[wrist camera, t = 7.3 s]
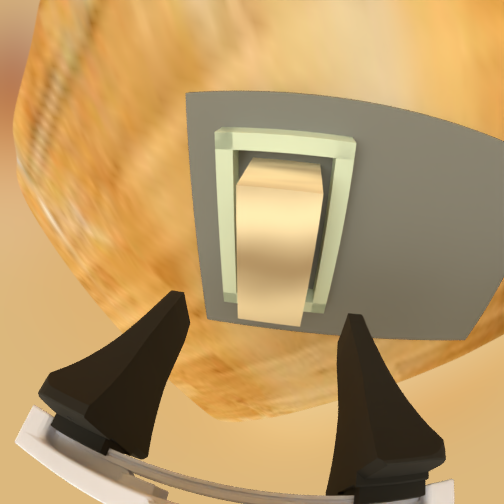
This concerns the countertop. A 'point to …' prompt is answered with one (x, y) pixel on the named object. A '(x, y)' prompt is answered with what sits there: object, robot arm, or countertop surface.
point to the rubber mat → (372, 212)
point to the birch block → (276, 238)
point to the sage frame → (295, 143)
